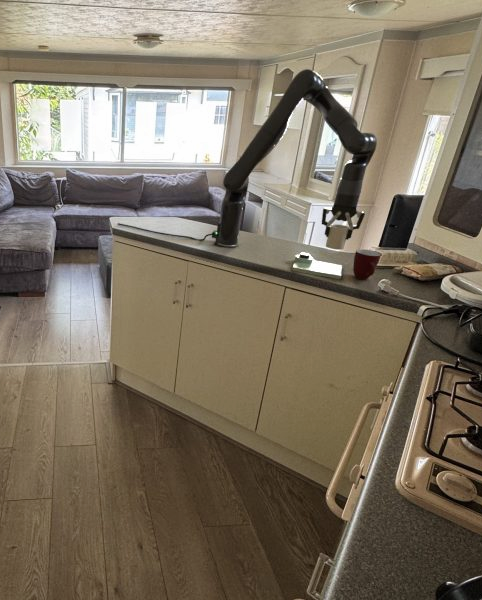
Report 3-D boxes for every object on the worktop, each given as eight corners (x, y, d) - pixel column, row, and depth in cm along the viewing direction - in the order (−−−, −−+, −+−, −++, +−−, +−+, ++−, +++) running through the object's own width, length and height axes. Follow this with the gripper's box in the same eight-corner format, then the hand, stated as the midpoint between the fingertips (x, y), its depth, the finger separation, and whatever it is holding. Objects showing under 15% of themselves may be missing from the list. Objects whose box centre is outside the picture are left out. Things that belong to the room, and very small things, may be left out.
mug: (381, 284, 155) (390, 258, 151) (360, 284, 155) (368, 258, 151) (364, 274, 165) (372, 249, 161) (344, 274, 164) (351, 249, 160)
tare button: (299, 258, 172) (300, 254, 171) (299, 256, 175) (300, 251, 174) (308, 260, 170) (309, 255, 170) (309, 257, 173) (310, 253, 173)
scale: (291, 270, 166) (292, 263, 165) (295, 260, 178) (296, 253, 176) (340, 279, 159) (342, 271, 158) (341, 268, 171) (343, 261, 169)
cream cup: (325, 247, 160) (330, 226, 157) (325, 243, 165) (331, 223, 162) (343, 250, 158) (349, 229, 154) (343, 246, 163) (349, 225, 160)
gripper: (370, 193, 153) (358, 238, 160) (327, 188, 159) (316, 232, 166) (371, 196, 147) (358, 243, 154) (326, 191, 153) (315, 237, 160)
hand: (336, 237), depth 160 cm, fingers closed on cream cup, 6 cm apart
